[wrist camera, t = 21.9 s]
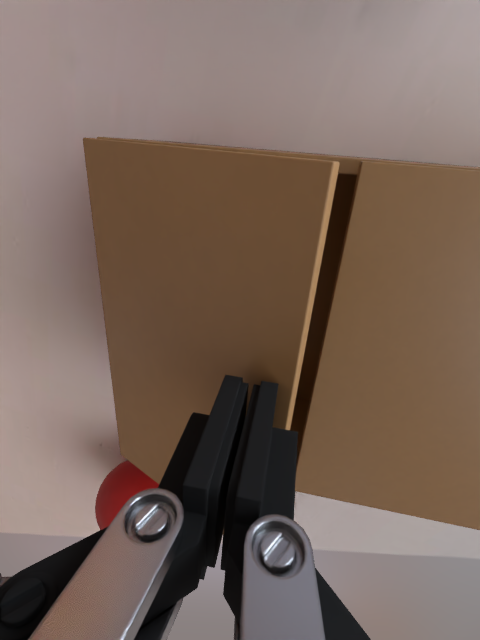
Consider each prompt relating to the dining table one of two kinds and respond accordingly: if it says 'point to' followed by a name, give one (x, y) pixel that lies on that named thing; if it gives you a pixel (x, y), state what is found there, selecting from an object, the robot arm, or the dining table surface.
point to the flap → (202, 279)
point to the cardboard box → (393, 341)
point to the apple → (119, 491)
